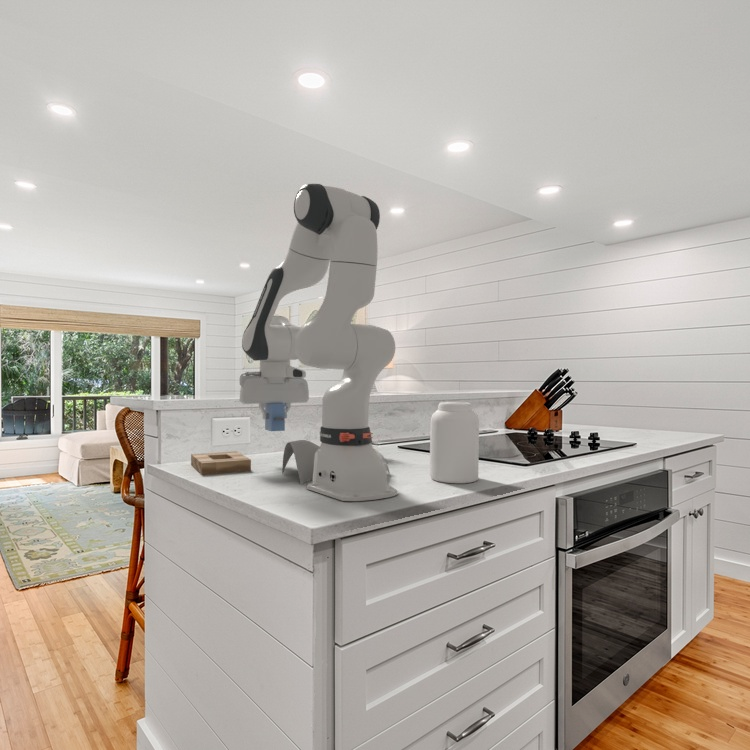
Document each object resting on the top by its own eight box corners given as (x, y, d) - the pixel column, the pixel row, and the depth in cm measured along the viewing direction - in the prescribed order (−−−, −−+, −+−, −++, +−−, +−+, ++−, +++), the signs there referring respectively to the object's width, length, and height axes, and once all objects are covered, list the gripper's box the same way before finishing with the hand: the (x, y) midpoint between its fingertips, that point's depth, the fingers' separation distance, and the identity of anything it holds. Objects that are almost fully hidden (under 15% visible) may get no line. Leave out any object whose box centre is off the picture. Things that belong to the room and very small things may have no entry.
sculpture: (359, 465, 152) (360, 432, 152) (392, 477, 136) (393, 440, 136) (278, 473, 140) (278, 437, 140) (303, 487, 124) (303, 446, 124)
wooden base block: (250, 470, 141) (250, 459, 141) (201, 474, 135) (201, 463, 135) (236, 461, 155) (236, 451, 155) (191, 464, 149) (191, 454, 149)
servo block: (286, 431, 149) (286, 403, 149) (272, 431, 147) (273, 403, 147) (276, 428, 157) (276, 402, 157) (263, 429, 155) (263, 402, 155)
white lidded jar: (440, 485, 126) (442, 403, 126) (422, 475, 138) (423, 400, 138) (487, 483, 129) (488, 403, 129) (465, 473, 141) (466, 400, 141)
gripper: (242, 371, 144) (242, 420, 144) (310, 372, 154) (310, 418, 154) (236, 371, 150) (236, 419, 150) (303, 372, 160) (303, 417, 160)
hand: (274, 418), depth 152 cm, fingers closed on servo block, 4 cm apart
